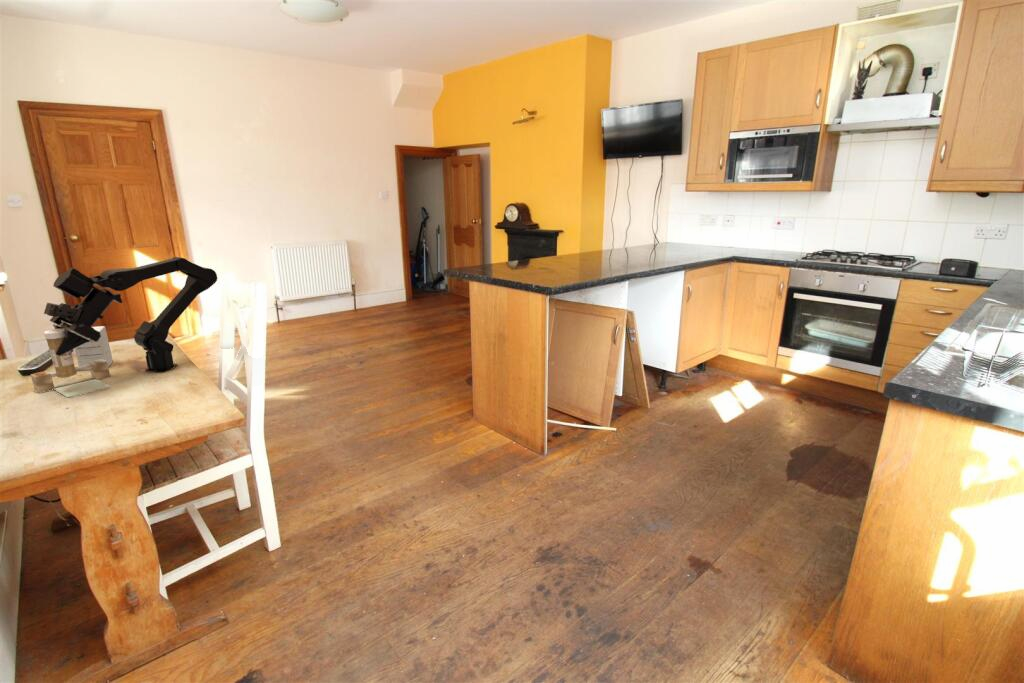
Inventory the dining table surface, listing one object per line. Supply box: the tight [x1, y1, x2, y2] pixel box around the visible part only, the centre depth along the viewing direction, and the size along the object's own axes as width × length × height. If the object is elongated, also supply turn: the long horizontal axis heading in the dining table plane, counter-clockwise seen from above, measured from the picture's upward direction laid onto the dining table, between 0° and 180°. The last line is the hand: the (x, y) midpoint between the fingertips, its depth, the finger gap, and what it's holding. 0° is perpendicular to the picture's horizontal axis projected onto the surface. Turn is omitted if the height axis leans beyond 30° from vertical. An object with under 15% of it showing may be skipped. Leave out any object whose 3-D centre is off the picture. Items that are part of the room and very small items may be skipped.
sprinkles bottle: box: [43, 328, 78, 379], centre depth 140 cm, size 5×5×13 cm
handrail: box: [30, 359, 111, 393], centre depth 149 cm, size 17×4×5 cm, turn 147°
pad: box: [53, 378, 111, 399], centre depth 146 cm, size 10×10×1 cm
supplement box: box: [73, 325, 114, 371], centre depth 162 cm, size 7×7×13 cm
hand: (54, 353), depth 139 cm, fingers closed on sprinkles bottle, 4 cm apart
